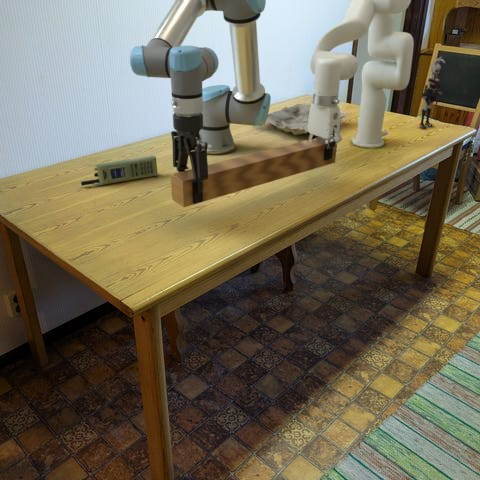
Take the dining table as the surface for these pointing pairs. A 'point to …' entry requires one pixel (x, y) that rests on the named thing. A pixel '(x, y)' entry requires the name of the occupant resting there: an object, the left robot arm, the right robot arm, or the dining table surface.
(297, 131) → the grey rock slab
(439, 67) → the figurine
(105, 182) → the handheld radio
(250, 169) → the post
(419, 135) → the dining table surface
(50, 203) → the dining table surface
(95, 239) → the dining table surface
